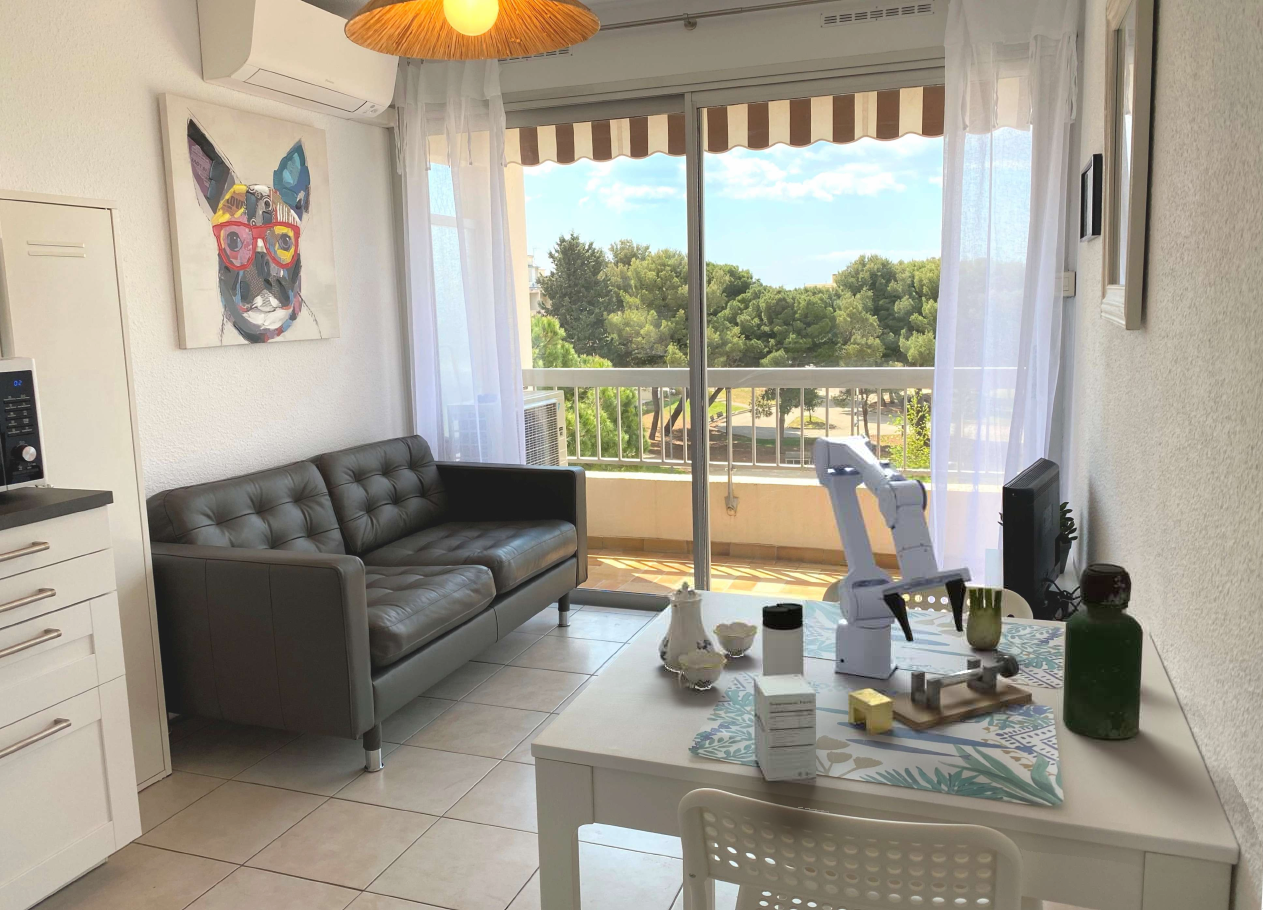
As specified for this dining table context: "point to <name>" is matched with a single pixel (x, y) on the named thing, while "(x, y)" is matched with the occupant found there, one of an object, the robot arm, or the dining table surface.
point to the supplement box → (785, 727)
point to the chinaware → (699, 640)
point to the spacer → (871, 710)
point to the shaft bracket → (954, 698)
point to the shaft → (1005, 668)
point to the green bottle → (1103, 657)
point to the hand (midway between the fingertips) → (934, 635)
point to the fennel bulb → (984, 619)
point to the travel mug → (782, 639)
